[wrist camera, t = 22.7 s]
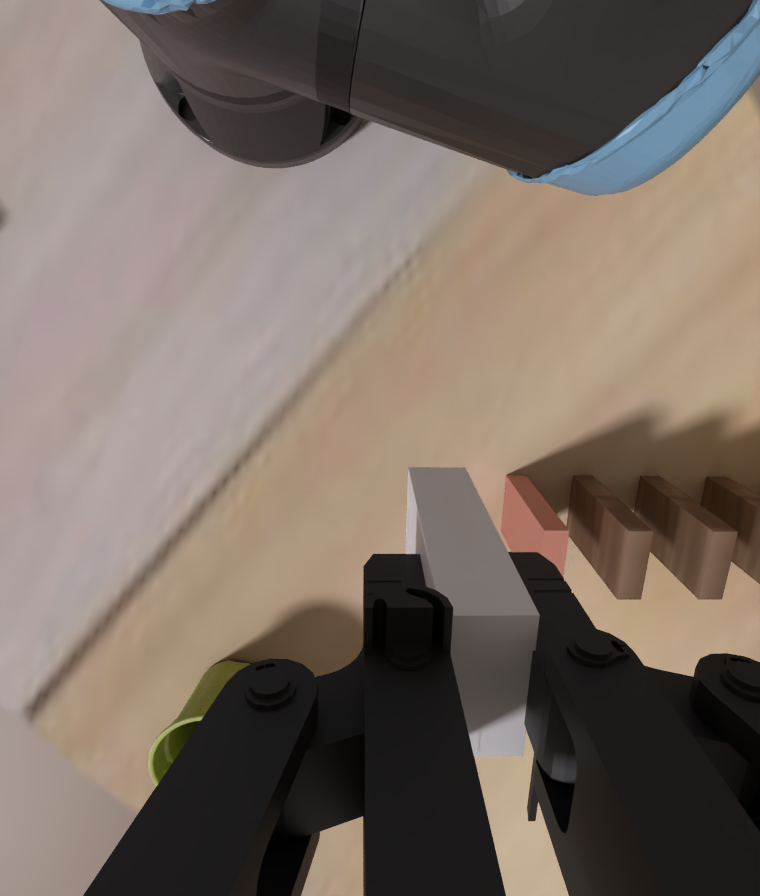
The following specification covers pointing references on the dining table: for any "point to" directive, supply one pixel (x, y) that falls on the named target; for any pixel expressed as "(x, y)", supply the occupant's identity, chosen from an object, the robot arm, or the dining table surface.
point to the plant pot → (189, 718)
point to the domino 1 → (532, 522)
